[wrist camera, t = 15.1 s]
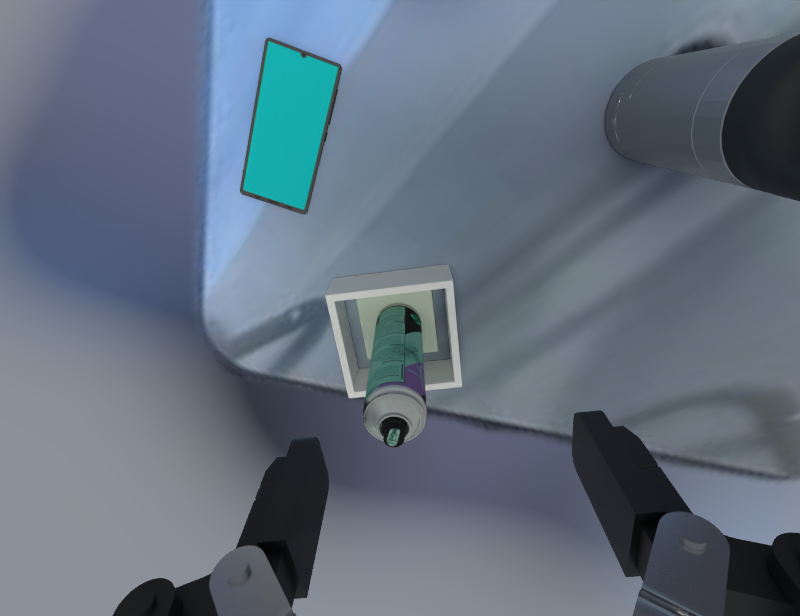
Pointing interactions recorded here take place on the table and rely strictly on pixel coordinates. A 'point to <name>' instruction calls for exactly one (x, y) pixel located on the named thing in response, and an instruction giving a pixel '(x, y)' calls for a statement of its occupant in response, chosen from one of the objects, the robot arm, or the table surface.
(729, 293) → the table surface
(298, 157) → the smartphone
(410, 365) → the spray can
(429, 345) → the white square tray
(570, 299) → the table surface
